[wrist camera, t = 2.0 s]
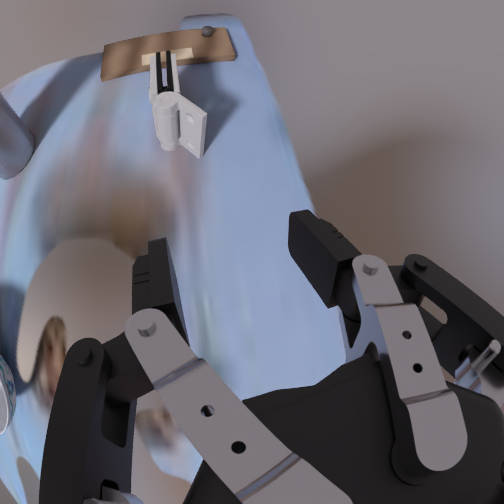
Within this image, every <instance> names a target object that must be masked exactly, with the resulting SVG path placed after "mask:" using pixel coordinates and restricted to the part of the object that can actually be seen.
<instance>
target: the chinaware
mask: <svg viewBox="0 0 504 504" xmlns="http://www.w3.org/2000/svg"><path fill="white" fill-rule="evenodd" d="M15 408H16V391H15V385H14V379H13V375H12V372H11V370H10V368H9V366H8V365H7V363H6V362H5V360H4V359H3V357H2V356H1V355H0V434H2V433H3V432H4V431H5V430H6V429H7V427H8V426H9V424H10V423H11V421H12V418H13V416H14V412H15Z"/></svg>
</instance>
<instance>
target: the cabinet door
mask: <svg viewBox="0 0 504 504" xmlns="http://www.w3.org/2000/svg"><path fill="white" fill-rule="evenodd" d="M169 50H170V51H171V54H176V63H177V66H180V65H188V64H196V63H206V62H219V61H234V59H235V52H234V50H233V47H232V44H231V42H230V39H229V37H228V34H227V31H226V29H225V27H222V28H212V27H210V26H205V27H203V28H202V29H191V30H182V31H175V32H167V33H160V34H154V35H148V36H143V37H138V38H133V39H128V40H124V41H120V42H116V43H112V44H108V45H105V46H104V52H103V59H102V67H101V76H100V77H101V80H102V82H103V81H106V80H110V79H114V78H118V77H122V76H126V75H130V74H135V73H140V72H144V71H150V57H151V56H156V52H160V53H161V68H167V67H166V51H169Z"/></svg>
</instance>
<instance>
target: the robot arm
mask: <svg viewBox="0 0 504 504" xmlns="http://www.w3.org/2000/svg"><path fill="white" fill-rule="evenodd" d="M34 144H35V140H34V136H33V134H32V133H31V132H30V131H29V129H28V128H27V127H26V126H25V124H24V123H23V122H22V120H21V119H20V118H19V117H18V115H17V114H16V113H15V111H14V110H13V109H12V107H11V106H10V105H9V103H8V102H7V101H6V99H5V98H4V97H3V95H2V94H1V92H0V177H1V178H2V179H9V178H11V177H14V176H15V175H17V174H18V173H19V172H20V171H21V170H22V169H23V168H24V167H25V165H26V164H27V162H28V161H29V159H30V157H31V155H32V153H33V150H34ZM288 248H289V252H290V255H291V257H292V258H293V259H294V261H295V262H296V264H297V265H298V266H299V268H300V269H301V271H302V272H303V274H304V275H305V276H306V278H307V279H308V281H309V282H310V283H311V285H312V286H313V288H314V289H315V291H316V292H317V293H318V295H319V296H320V298H321V299H322V301H323V302H324V304H325V305H326V306H327V308H331V307H334V306H337V305H338V306H339V307H340V312H339V320H340V325H341V330H342V335H343V341H344V346H345V352H346V362H345V364H343V365H341V366H340V367H339V368H337V369H336V370H335V371H334V372H332V373H331V374H330V375H328V376H327V377H326V378H324V379H323V380H322V381H320V382H319V383H317V384H316V385H313V386H307V387H299V388H290V389H280V390H275V391H272V392H269V393H265V394H262V395H259V396H256V397H252V398H249V399H245V400H242V402H241V401H240V399H239V398H238V397H237V396H236V395H235V394H234V393H233V392H232V391H231V389H230V388H229V387H228V386H227V385H226V384H225V383H224V382H223V380H222V379H221V378H220V377H219V376H218V375H217V373H216V372H215V371H214V370H213V369H212V367H211V366H210V365H209V364H208V363H207V362H206V361H205V360H204V359H202V358H201V359H199V358H198V357H197V356H196V355H195V354H194V352H193V351H192V350H191V348H190V344H189V340H188V335H187V330H186V325H185V321H184V316H183V310H182V305H181V300H180V294H179V289H178V283H177V278H176V274H175V270H174V266H173V262H172V258H171V254H170V250H169V246H168V242H167V238H166V237H165V238H161V239H156V240H152V241H148V255H144V256H139V257H138V258H137V259H136V261H135V263H134V265H133V272H132V276H133V278H132V285H133V286H132V316H131V317H130V318H129V319H128V321H127V323H126V325H125V331H124V332H123V333H122V334H120V335H119V336H117V337H115V338H113V339H112V340H110V341H108V342H106V343H104V344H101V343H100V342H99V341H98V340H96V339H94V338H84V339H81V340H79V341H77V342H76V343H74V344H73V345H72V346H71V347H70V349H69V350H68V352H67V355H66V358H65V361H64V364H63V368H62V371H61V374H60V378H59V381H58V385H57V389H56V393H55V397H54V401H53V405H52V409H51V414H50V418H49V423H48V428H47V434H46V440H45V446H44V452H43V459H42V468H41V477H40V490H39V504H144V503H143V502H142V501H141V500H140V499H139V498H138V497H137V496H135V495H133V494H131V469H132V449H133V435H134V425H135V415H136V405H137V398H139V397H141V396H143V395H145V394H147V393H148V392H150V391H152V390H154V389H155V391H156V392H157V393H158V395H159V397H160V399H161V400H162V401H163V403H164V405H165V406H166V408H167V409H168V411H169V412H170V414H171V415H172V417H173V418H174V420H175V421H176V423H177V424H178V425H179V427H180V428H181V430H182V431H183V432H184V434H185V435H186V437H187V438H188V439H189V441H190V442H191V443H192V445H193V446H194V447H195V448H196V450H197V451H198V452H199V454H200V455H201V456H202V457H203V461H202V463H201V466H200V468H199V470H198V472H197V474H196V477H195V479H194V481H193V483H192V485H191V487H190V490H189V492H188V494H187V496H186V498H185V500H184V502H183V504H504V415H503V412H502V410H501V406H502V404H503V402H504V317H503V316H502V315H501V314H500V313H499V312H498V311H496V310H495V309H494V308H493V307H492V306H490V305H489V304H488V303H487V302H486V301H484V300H483V299H482V298H481V297H479V296H478V295H477V294H475V293H474V292H473V291H472V290H470V289H469V288H468V287H466V286H465V285H464V284H463V283H461V282H460V281H459V280H457V279H456V278H454V277H453V276H452V275H450V274H449V273H447V272H446V271H445V270H444V269H442V268H440V267H439V266H438V265H436V264H435V263H434V262H432V261H431V260H429V259H428V258H426V257H424V256H422V255H418V254H411V255H408V256H407V257H406V258H405V261H404V263H403V266H387V264H386V263H385V262H384V261H383V260H381V259H380V258H378V257H376V256H372V255H362V254H361V253H360V252H359V251H358V250H357V249H356V248H355V247H354V246H353V245H352V244H351V243H350V242H349V241H348V240H347V239H346V238H345V237H344V236H343V235H342V234H341V233H340V232H338V230H337V229H336V228H335V227H334V226H333V225H332V224H331V223H329V222H327V221H325V220H323V219H318V218H317V217H316V216H315V215H314V214H313V213H312V212H311V211H309V210H302V211H296V212H291V213H290V216H289V233H288ZM425 296H426V297H427V298H429V299H430V300H431V301H433V302H434V303H435V304H436V305H437V306H439V307H440V308H441V309H442V310H444V311H445V313H446V314H447V317H448V320H447V323H446V324H442V323H441V322H440V321H438V320H437V319H436V318H435V317H433V316H432V315H431V314H430V313H429V312H427V311H426V310H425V309H424V308H422V307H421V306H420V305H421V303H422V301H423V298H424V297H425ZM440 365H441V366H442V367H443V368H444V369H445V370H446V371H447V372H449V373H450V374H451V375H452V376H453V377H454V378H455V379H456V380H455V382H454V383H451V382H448V381H445V380H444V376H443V373H442V370H441V367H440Z"/></svg>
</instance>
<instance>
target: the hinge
mask: <svg viewBox="0 0 504 504" xmlns="http://www.w3.org/2000/svg"><path fill="white" fill-rule="evenodd" d="M166 67H167V85H168V86H165V87H163V83H162V69H161V53H160V52H156V56H151V57H150V87H149V99H150V104H151V103H152V109H153V117H154V122H155V128H156V134H157V138H158V139H159V140H160V143H161V147H162V148H163V149H164V150H166V151H171V150H175V149H176V148H177V147H178V146H179V145H183V146H184V147H185V148H186V149H188V150H189V151H190V152H191V153H193V154H194V155H195V156H196V157H198V158H199V159H200V158H201V157H202V156H203V153H204V142H205V131H206V122H207V113H206V112H204V111H203V110H202V109H200V108H199V107H197V106H196V105H195V104H193V103H192V102H190V101H189V100H187V99H186V98H185V97H183V96H182V95H181V91H180V82H179V81H178V72H177V63H176V54H171V51H170V50H169V51H166Z"/></svg>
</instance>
